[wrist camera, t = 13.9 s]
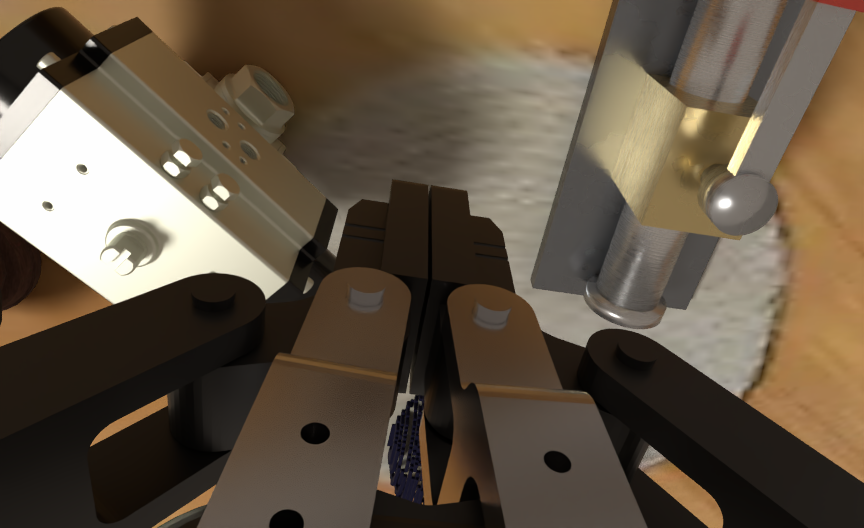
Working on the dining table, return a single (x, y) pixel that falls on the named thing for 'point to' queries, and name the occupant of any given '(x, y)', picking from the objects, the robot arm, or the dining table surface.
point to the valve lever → (775, 120)
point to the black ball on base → (16, 268)
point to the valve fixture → (656, 150)
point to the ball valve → (152, 164)
